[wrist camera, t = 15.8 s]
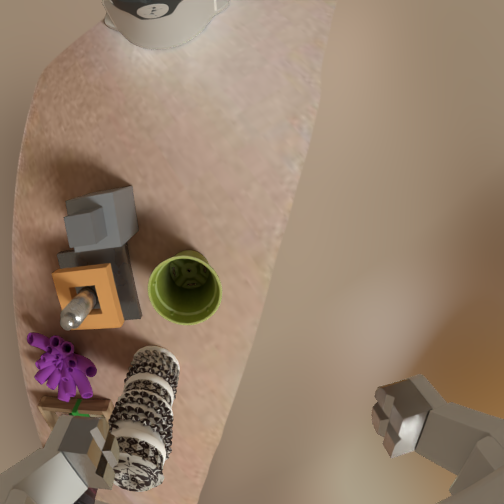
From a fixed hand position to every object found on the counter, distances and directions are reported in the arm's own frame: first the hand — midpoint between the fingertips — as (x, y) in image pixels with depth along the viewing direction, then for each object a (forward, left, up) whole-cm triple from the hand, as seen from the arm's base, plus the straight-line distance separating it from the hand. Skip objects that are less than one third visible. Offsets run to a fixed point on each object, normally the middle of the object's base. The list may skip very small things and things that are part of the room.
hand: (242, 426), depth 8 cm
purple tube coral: (+23, -32, -39) cm, 56 cm away
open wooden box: (+38, -35, -39) cm, 65 cm away
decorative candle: (+25, -15, -39) cm, 49 cm away
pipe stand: (+9, -21, -39) cm, 45 cm away
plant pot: (+8, -6, -39) cm, 41 cm away
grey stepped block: (-2, -16, -39) cm, 42 cm away
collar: (+9, -21, -35) cm, 41 cm away
